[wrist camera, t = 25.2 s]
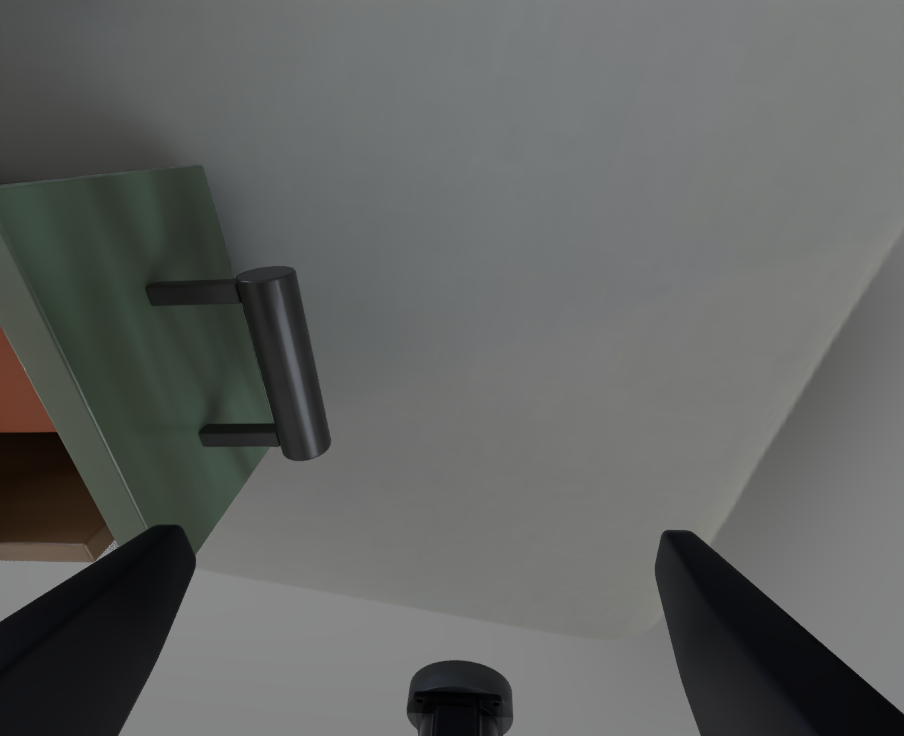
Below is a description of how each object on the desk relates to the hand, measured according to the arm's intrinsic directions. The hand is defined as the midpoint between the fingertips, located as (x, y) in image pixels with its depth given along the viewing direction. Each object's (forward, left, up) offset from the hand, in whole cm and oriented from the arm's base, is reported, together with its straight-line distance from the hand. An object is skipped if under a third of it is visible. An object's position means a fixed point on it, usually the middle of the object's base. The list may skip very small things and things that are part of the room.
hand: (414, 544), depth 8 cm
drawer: (0, +12, -11) cm, 17 cm away
